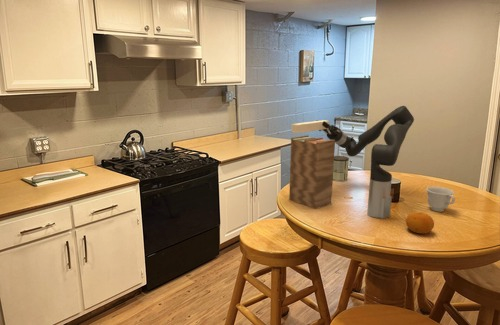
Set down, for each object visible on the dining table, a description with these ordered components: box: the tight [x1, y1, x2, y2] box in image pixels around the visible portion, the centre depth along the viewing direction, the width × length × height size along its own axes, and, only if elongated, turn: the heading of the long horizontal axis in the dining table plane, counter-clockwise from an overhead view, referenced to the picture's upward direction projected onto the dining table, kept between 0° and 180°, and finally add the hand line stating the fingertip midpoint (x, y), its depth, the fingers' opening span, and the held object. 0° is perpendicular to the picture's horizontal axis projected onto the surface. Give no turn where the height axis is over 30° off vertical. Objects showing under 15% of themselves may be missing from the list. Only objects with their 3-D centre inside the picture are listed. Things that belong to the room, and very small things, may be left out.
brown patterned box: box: [288, 135, 336, 210], centre depth 181 cm, size 18×12×33 cm, turn 39°
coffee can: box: [333, 155, 350, 183], centre depth 223 cm, size 10×10×14 cm
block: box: [291, 119, 331, 134], centre depth 181 cm, size 4×24×4 cm, turn 129°
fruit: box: [405, 212, 435, 235], centre depth 149 cm, size 10×10×8 cm
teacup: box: [425, 186, 456, 213], centre depth 172 cm, size 12×15×10 cm
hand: (319, 122), depth 185 cm, fingers closed on block, 4 cm apart
